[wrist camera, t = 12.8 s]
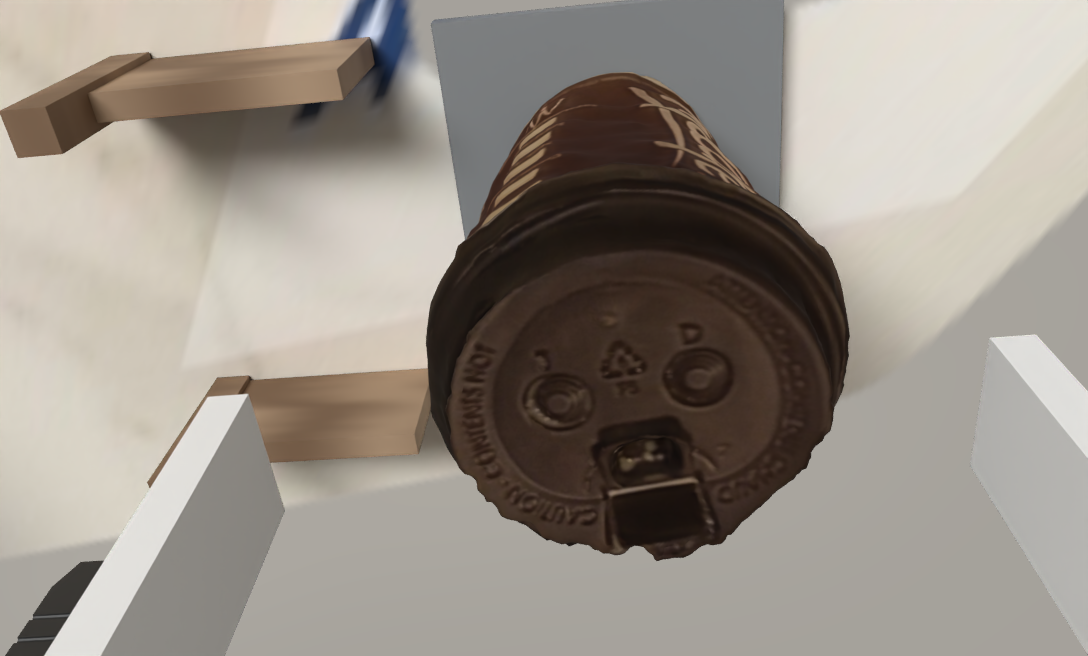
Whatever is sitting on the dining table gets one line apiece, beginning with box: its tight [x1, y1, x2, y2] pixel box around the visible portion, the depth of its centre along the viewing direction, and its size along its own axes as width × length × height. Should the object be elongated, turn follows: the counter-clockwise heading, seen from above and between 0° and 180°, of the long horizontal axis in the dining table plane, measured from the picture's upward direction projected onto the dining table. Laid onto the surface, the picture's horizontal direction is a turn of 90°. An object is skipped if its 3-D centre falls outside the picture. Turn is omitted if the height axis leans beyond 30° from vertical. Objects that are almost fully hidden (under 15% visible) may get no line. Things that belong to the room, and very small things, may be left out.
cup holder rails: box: [0, 37, 431, 488], centre depth 28 cm, size 8×13×6 cm, turn 6°
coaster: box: [431, 0, 784, 240], centre depth 28 cm, size 10×10×1 cm
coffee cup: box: [426, 72, 850, 561], centre depth 22 cm, size 9×8×13 cm
